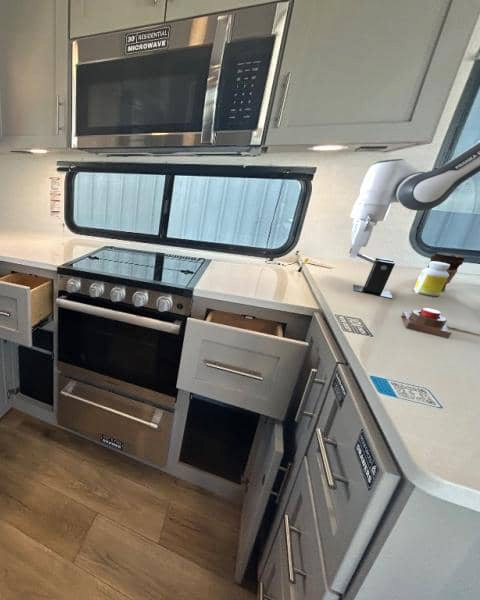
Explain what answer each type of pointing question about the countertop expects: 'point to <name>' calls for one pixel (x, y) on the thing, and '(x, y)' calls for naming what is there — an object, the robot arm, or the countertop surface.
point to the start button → (430, 313)
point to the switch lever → (367, 258)
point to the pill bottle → (432, 279)
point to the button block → (426, 324)
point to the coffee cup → (449, 259)
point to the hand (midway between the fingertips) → (352, 255)
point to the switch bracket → (377, 279)
